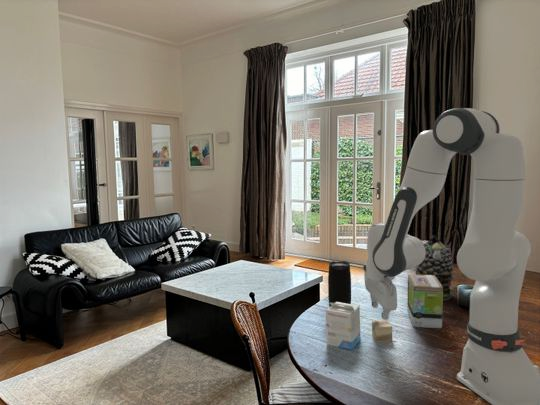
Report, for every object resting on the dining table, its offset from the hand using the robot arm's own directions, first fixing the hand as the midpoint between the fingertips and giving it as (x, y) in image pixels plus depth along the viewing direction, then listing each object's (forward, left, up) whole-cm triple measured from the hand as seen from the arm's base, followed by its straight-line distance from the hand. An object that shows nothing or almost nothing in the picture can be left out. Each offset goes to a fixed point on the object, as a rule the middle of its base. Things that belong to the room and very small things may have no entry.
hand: (379, 312), depth 133 cm
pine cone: (+35, -37, -9) cm, 51 cm away
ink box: (-2, +12, -9) cm, 15 cm away
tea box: (+11, -21, -9) cm, 25 cm away
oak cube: (-1, -1, -9) cm, 9 cm away
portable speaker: (+22, +7, -9) cm, 25 cm away
